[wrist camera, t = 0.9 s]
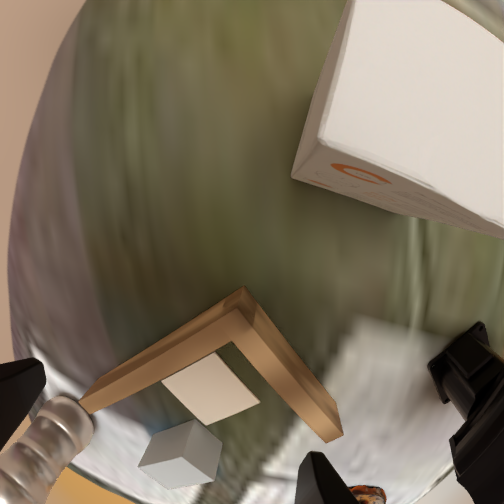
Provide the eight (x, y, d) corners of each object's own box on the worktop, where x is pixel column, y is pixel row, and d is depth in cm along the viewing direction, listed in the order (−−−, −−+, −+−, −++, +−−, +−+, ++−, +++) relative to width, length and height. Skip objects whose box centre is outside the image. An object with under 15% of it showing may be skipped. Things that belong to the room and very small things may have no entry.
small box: (418, 131, 17) (555, 88, 4) (398, 215, 18) (542, 257, 5) (311, 90, 17) (359, -42, 4) (287, 177, 18) (314, 148, 6)
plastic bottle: (63, 421, 26) (-16, 521, 6) (48, 381, 24) (-54, 484, 5) (105, 439, 25) (31, 558, 6) (92, 399, 24) (-9, 530, 4)
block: (222, 442, 24) (214, 480, 19) (180, 455, 25) (168, 489, 20) (195, 418, 23) (181, 456, 18) (153, 433, 24) (137, 467, 19)
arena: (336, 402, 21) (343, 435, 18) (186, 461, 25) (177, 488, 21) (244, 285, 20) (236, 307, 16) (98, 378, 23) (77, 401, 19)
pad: (260, 401, 22) (260, 402, 22) (206, 424, 23) (205, 425, 23) (214, 350, 21) (214, 352, 21) (161, 379, 22) (160, 381, 22)
